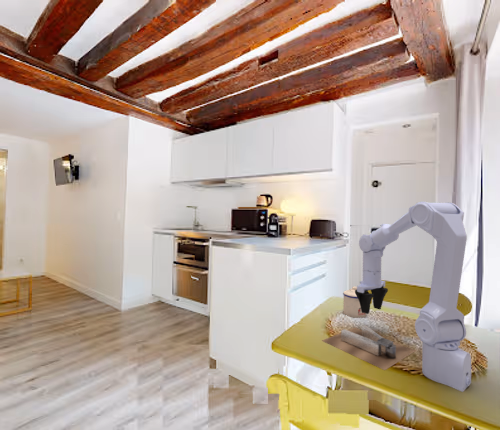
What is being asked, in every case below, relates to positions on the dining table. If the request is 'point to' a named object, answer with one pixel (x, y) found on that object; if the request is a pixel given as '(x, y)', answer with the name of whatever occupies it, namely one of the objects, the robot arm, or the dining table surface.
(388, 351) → the bar
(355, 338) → the arm
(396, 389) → the dining table surface
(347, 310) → the teacup with lid
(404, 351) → the walnut board
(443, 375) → the robot arm
